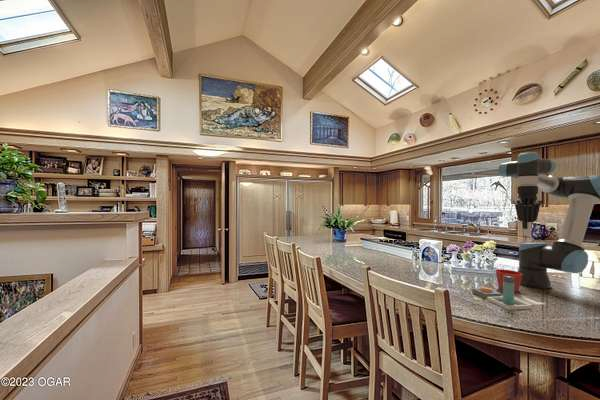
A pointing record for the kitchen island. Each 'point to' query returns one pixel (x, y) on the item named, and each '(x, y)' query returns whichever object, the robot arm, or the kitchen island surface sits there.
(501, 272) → the flower pot
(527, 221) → the robot arm
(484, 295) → the button box
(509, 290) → the tall green block
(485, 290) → the button
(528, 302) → the clipboard
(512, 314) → the kitchen island surface
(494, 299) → the tray
